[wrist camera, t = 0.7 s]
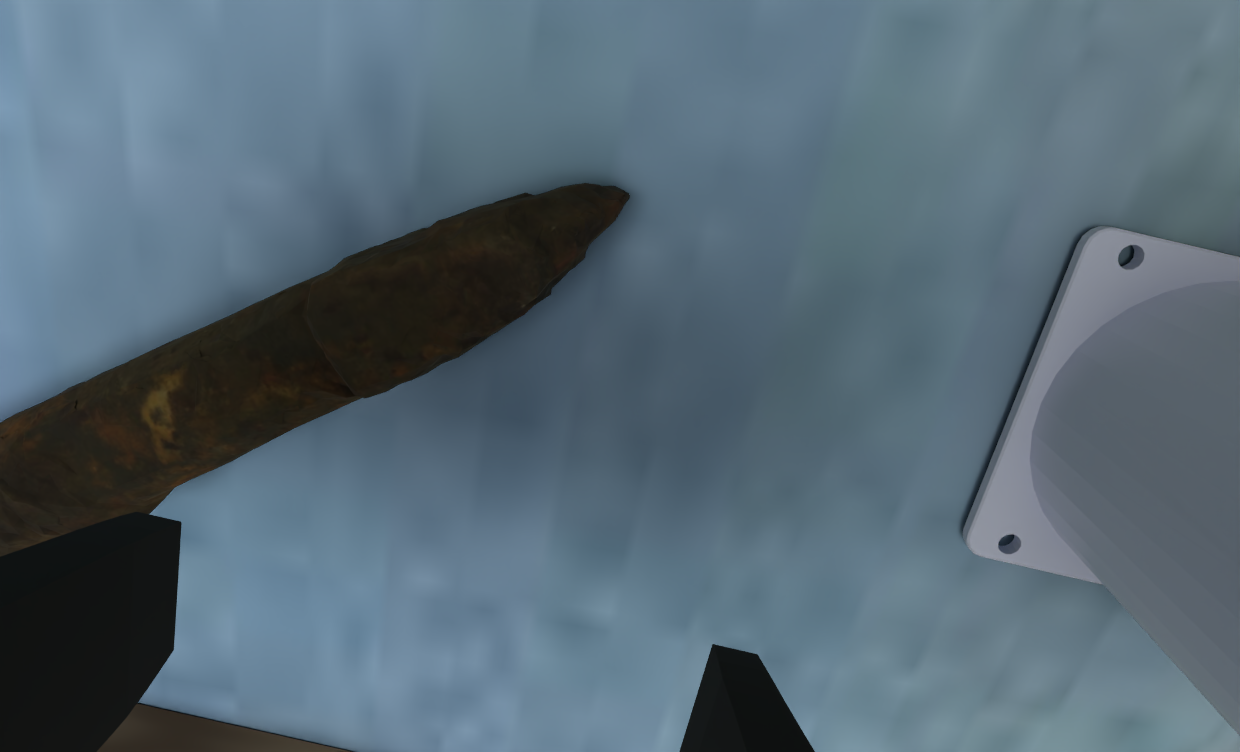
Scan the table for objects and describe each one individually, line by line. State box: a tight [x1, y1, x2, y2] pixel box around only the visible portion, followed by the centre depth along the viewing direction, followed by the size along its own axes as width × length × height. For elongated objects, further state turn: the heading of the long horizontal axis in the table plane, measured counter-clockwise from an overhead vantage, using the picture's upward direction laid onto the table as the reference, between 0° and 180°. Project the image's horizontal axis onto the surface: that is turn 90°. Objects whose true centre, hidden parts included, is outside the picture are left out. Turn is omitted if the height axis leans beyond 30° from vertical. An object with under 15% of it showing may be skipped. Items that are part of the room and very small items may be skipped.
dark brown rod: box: [0, 183, 630, 557], centre depth 18 cm, size 19×4×5 cm, turn 113°
